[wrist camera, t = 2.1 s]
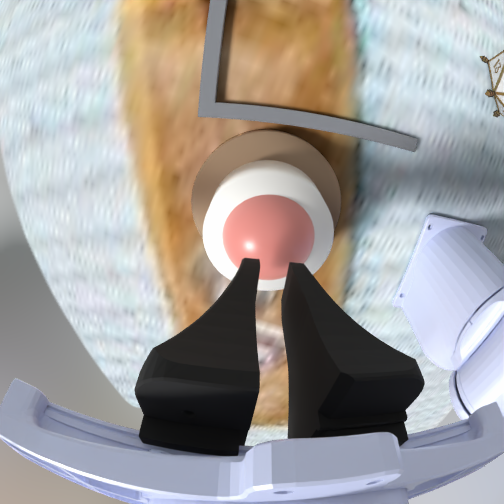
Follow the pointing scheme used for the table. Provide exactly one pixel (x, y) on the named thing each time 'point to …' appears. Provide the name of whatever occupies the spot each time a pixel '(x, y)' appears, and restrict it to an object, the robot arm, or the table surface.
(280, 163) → the dome
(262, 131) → the dome base
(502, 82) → the game die
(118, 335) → the table surface
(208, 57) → the frame
